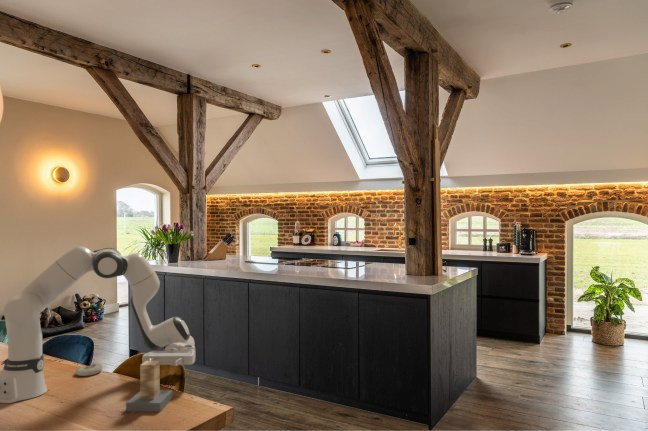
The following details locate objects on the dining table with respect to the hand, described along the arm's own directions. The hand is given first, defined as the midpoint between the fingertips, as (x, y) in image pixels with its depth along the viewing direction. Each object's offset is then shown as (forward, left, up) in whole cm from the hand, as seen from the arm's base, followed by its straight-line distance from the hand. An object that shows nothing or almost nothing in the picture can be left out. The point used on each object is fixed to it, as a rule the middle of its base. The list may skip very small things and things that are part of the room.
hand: (162, 364), depth 179 cm
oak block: (0, -11, -8) cm, 14 cm away
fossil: (-40, +23, -12) cm, 48 cm away
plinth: (0, -11, -11) cm, 16 cm away
